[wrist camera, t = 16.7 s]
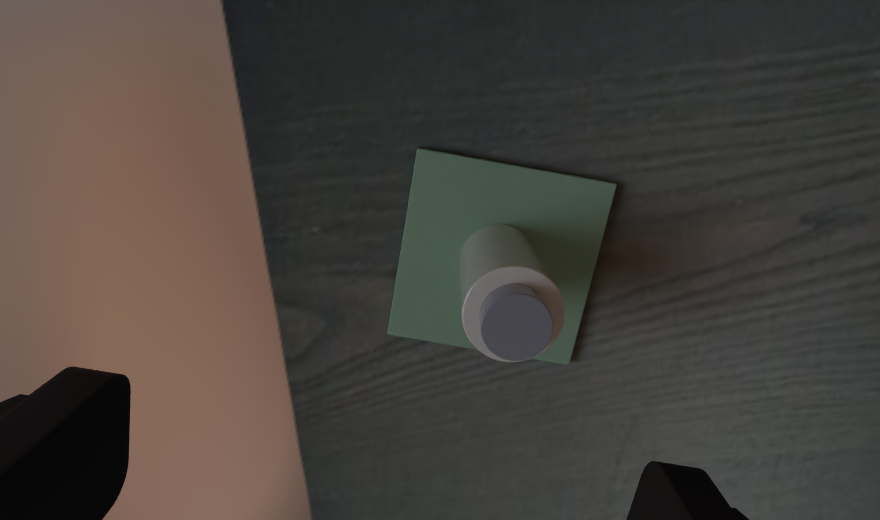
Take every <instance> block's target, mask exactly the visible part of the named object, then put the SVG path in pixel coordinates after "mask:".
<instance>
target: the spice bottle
mask: <svg viewBox="0 0 880 520" xmlns="http://www.w3.org/2000/svg"><path fill="white" fill-rule="evenodd" d="M459 275H460V294H461V313H462V323H463V328H464V331H465V333H466V335H467V337H468V339H469V340H470V342H471V343H472V344H473V345H474V347H475V348H477V349H478V350H479V351H480V352H482V353H483V354H484V355H486V356H488V357H490V358H493V359H496V360H499V361H504V362H520V361H525V360H529V359H531V358H534V357H536V356H538V355H540V354H542V353H543V352H544V351H546V350H547V349H548V348H549V347H550V346H551V345H552V344H553V343H554V342H555V341H556V339H557V338H558V336H559V334H560V332H561V330H562V327H563V324H564V319H565V306H564V301H563V298H562V295H561V293H560V291H559V289H558V287H557V286H556V284H555V282H554V280H553V279H552V277H551V275H550V273H549V272H548V270H547V268H546V266H545V265H544V263H543V261H542V259H541V258H540V256H539V254H538V252H537V250H536V249H535V247H534V245H533V243H532V242H531V240H530V239H529V238H528V236H527V235H525V234H524V233H523V232H522V231H520V230H519V229H517V228H515V227H512V226H509V225H504V224H494V225H489V226H485V227H483V228H480V229H479V230H477V231H475V232H474V233H473V234H472V235H471V236H470V237H469V238H468V239H467V240H466V241H465V243H464V245H463V247H462V249H461V252H460V256H459Z"/></svg>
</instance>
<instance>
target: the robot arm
mask: <svg viewBox="0 0 880 520" xmlns="http://www.w3.org/2000/svg"><path fill="white" fill-rule="evenodd" d="M130 393H131V391H130V382H129V379H128V378H127V377H126V376H125V375H122V374H116V373H110V372H103V371H98V370H92V369H85V368H79V367H68V368H66V369H64V370H63V371H61V372H60V373H58V374H57V375H56V376H55V377H53V378H52V379H50V380H49V381H48V382H46V383H45V384H43V385H42V386H41V387H40V388H38V389H37V390H35V391H34V392H33V393H31V394H30V395H22V394H20V395H17V396H15V397H13V398H10V399H7V400H5V401H2V402H0V520H102V519H103V518H104V516H105V515H106V514H107V513H108V511H109V510H110V509H111V507H112V506H113V505H114V503H115V501H116V500H117V498H118V496H119V494H120V491H121V488H122V486H123V483H124V481H125V477H126V473H127V468H128V460H129V459H128V458H129V426H130ZM627 520H749V519H748V518H747V517H745V516H744V515H743V514H742V513H741V512H740V511H738V510H737V509H736V508H731V507H730V506H729V504H728V503H727V501H726V500H725V499H724V497H723V496H722V494H721V493H720V491H719V490H718V489H717V487H716V486H715V484H714V483H713V481H712V480H711V478H710V477H709V476H708V474H707V473H706V472H705V471H704V470H702V469H700V468H694V467H687V466H681V465H675V464H669V463H662V462H656V461H652V462H650V463H648V464H647V465H646V467H645V468H644V470H643V473H642V475H641V478H640V481H639V484H638V487H637V490H636V493H635V496H634V499H633V502H632V505H631V508H630V511H629V514H628V517H627Z"/></svg>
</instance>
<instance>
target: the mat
mask: <svg viewBox="0 0 880 520" xmlns="http://www.w3.org/2000/svg"><path fill="white" fill-rule="evenodd" d="M616 186H617V184H616V183H614V182H608V181H602V180H597V179H591V178H586V177H580V176H575V175H569V174H564V173H558V172H552V171H547V170H541V169H536V168H530V167H525V166H519V165H514V164H508V163H502V162H497V161H491V160H486V159H480V158H475V157H469V156H464V155H458V154H452V153H447V152H441V151H436V150H430V149H425V148H418V149H417V153H416V159H415V165H414V171H413V178H412V184H411V190H410V196H409V202H408V208H407V215H406V221H405V227H404V233H403V239H402V245H401V252H400V258H399V264H398V270H397V276H396V282H395V289H394V295H393V301H392V307H391V313H390V319H389V326H388V332H387V334H388V335H394V336H400V337H406V338H412V339H418V340H424V341H429V342H435V343H441V344H447V345H453V346H459V347H465V348H471V349H477V348H475V347H474V345H473V344H472V343H471V342H470V340H469V339H468V337H467V335H466V333H465V331H464V328H463V323H462V313H461V294H460V275H459V256H460V252H461V249H462V247H463V245H464V243H465V241H466V240H467V239H468V238H469V237H470V236H471V235H472V234H473V233H474V232H475V231H477V230H479V229H480V228H483V227H485V226H489V225H494V224H504V225H509V226H512V227H515V228H517V229H519V230H520V231H522V232H523V233H524V234H525V235H527V236H528V238H529V239H530V240H531V242H532V243H533V245H534V247H535V249H536V250H537V252H538V254H539V256H540V258H541V259H542V261H543V263H544V265H545V266H546V268H547V270H548V272H549V273H550V275H551V277H552V279H553V280H554V282H555V284H556V286H557V287H558V289H559V291H560V293H561V295H562V298H563V301H564V306H565V319H564V324H563V327H562V330H561V332H560V334H559V336H558V338H557V339H556V341H555V342H554V343H553V344H552V345H551V346H550V347H549V348H548V349H547V350H546V351H544V352H543V353H542V354H540V355H538V356H536V357H534V358H531V359H536V360H542V361H548V362H553V363H559V364H565V365H569V364H570V360H571V357H572V353H573V349H574V345H575V341H576V338H577V334H578V330H579V326H580V322H581V319H582V315H583V311H584V307H585V303H586V300H587V296H588V292H589V288H590V284H591V281H592V277H593V273H594V269H595V265H596V262H597V258H598V254H599V250H600V246H601V243H602V239H603V235H604V231H605V227H606V224H607V220H608V216H609V212H610V208H611V205H612V201H613V197H614V193H615V190H616ZM477 350H478V349H477Z"/></svg>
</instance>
